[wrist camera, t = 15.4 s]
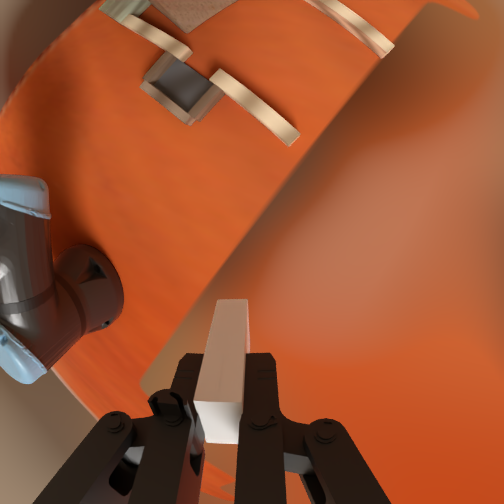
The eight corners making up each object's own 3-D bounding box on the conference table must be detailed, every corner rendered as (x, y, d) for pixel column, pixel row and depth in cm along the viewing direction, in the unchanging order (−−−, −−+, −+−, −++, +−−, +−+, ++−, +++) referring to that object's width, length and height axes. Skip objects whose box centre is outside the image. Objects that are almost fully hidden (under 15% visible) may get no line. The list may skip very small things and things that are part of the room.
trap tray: (410, 33, 24) (429, 14, 18) (254, 182, 34) (246, 185, 27) (236, -66, 21) (229, -89, 14) (97, 53, 30) (71, 41, 24)
